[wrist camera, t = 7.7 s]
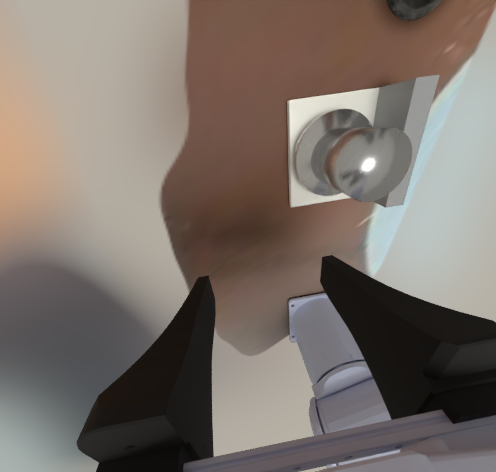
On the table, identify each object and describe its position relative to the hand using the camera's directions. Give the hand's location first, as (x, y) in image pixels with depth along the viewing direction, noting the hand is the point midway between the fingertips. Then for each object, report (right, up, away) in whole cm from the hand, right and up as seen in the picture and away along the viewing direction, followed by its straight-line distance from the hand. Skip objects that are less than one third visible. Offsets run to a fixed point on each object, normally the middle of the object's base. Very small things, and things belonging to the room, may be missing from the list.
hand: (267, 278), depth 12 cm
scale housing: (+7, +11, +6) cm, 14 cm away
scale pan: (+6, +10, +5) cm, 13 cm away
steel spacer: (+6, +9, +4) cm, 12 cm away
